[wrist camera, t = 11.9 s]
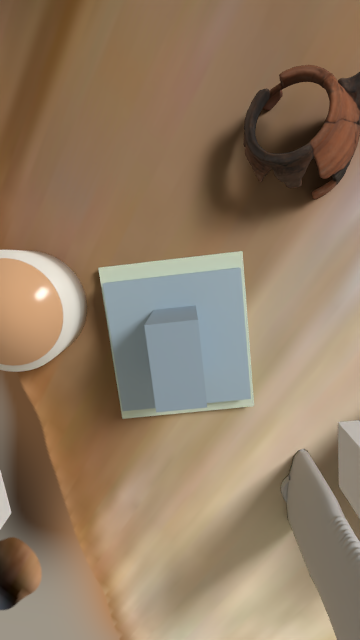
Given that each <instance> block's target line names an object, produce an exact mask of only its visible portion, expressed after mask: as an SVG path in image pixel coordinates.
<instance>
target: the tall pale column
mask: <svg viewBox="0 0 360 640" xmlns="http://www.w3.org/2000/svg"><path fill="white" fill-rule="evenodd" d="M281 493H282V496H283V498H284V500H285V502H286V504H287V518H288V520H289V523H290V526H291V528H292V531H293V533H294V536H295V538H296V541H297V544H298V546H299V549H300V551H301V554H302V556H303V559H304V562H305V564H306V567H307V569H308V572H309V574H310V576H311V578H312V580H313V582H314V584H315V586H316V588H317V590H318V592H319V595H320V597H321V599H322V602H323V604H324V607H325V609H326V611H327V614H328V616H329V619H330V622H331V624H332V627H333V630H334V632H335V635H336V638H337V640H360V541H359V540H358V538H357V537H356V535H355V534H354V532H353V530H352V528H351V527H350V525H349V523H348V521H347V520H346V518H345V516H344V514H343V512H342V509H341V507H340V505H339V503H338V501H337V499H336V497H335V495H334V494H333V492H332V491H331V489H330V487H329V486H328V484H327V482H326V481H325V479H324V477H323V476H322V474H321V472H320V471H319V469H318V468H317V466H316V464H315V463H314V461H313V459H312V458H311V456H310V454H309V453H308V451H306V450H305V449H301V450H299V451H298V452H297V453H296V454H295V456H294V458H293V462H292V465H291V469H290V473H289V476H287V477H286V478H285V479H284V481H283V482H282V485H281Z"/></svg>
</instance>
